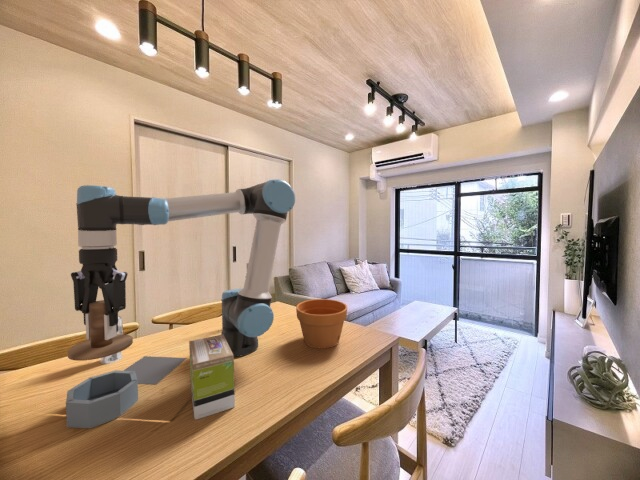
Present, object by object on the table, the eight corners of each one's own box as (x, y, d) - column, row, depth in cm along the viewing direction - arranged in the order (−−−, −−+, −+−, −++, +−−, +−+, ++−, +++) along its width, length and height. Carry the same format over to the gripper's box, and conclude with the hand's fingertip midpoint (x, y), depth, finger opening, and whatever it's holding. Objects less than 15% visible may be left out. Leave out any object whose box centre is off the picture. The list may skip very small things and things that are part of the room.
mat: (187, 359, 95) (187, 357, 95) (156, 385, 79) (156, 384, 79) (144, 357, 96) (144, 356, 96) (105, 383, 80) (105, 382, 80)
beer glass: (110, 366, 90) (108, 323, 89) (93, 364, 91) (91, 321, 90) (128, 356, 97) (127, 316, 96) (112, 354, 98) (111, 314, 97)
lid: (144, 338, 75) (143, 296, 74) (103, 361, 62) (101, 311, 61) (101, 336, 76) (99, 295, 75) (52, 359, 63) (49, 309, 62)
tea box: (189, 388, 78) (188, 339, 77) (225, 379, 83) (224, 332, 82) (193, 422, 65) (192, 362, 64) (235, 408, 70) (235, 353, 69)
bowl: (149, 392, 76) (148, 371, 76) (106, 429, 62) (105, 404, 62) (103, 389, 77) (102, 369, 77) (51, 426, 63) (49, 401, 63)
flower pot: (332, 358, 96) (332, 317, 95) (285, 345, 106) (285, 308, 106) (354, 337, 114) (355, 303, 114) (313, 327, 125) (313, 296, 124)
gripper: (141, 246, 71) (144, 332, 72) (81, 246, 72) (84, 330, 73) (118, 249, 63) (121, 345, 64) (51, 248, 64) (55, 342, 66)
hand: (101, 337), depth 69 cm, fingers closed on lid, 4 cm apart
